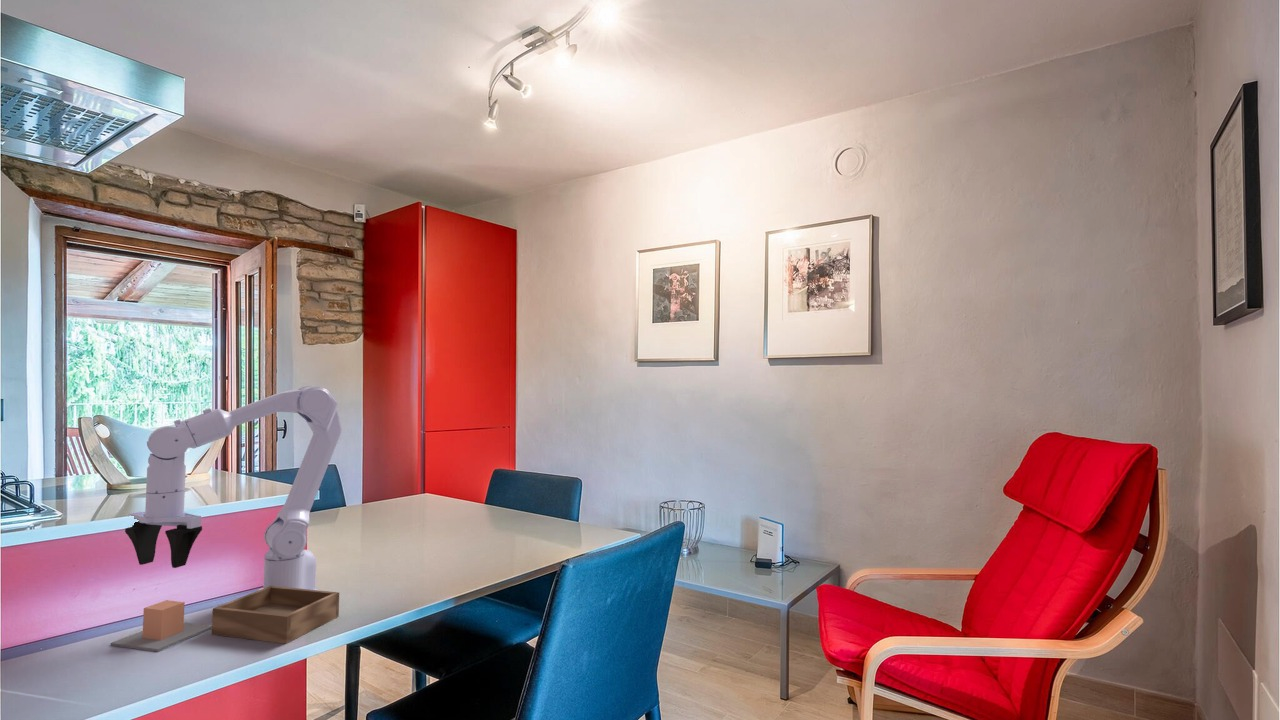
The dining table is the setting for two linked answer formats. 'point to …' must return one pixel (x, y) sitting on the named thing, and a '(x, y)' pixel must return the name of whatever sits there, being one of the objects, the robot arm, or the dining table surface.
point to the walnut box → (275, 614)
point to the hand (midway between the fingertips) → (162, 564)
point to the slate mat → (158, 645)
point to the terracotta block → (163, 619)
